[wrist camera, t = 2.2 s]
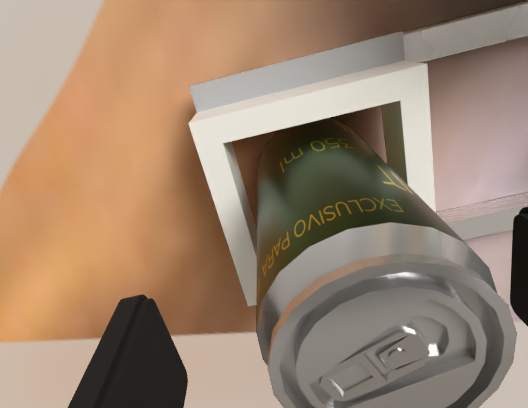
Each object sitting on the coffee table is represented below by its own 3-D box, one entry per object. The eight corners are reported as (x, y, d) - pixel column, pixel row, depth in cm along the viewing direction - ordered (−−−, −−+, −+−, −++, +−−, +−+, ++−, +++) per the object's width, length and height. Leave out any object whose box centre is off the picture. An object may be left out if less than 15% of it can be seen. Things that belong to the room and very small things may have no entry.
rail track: (709, -58, 15) (857, -89, 11) (656, 192, 19) (749, 229, 16) (266, 57, 16) (268, 64, 13) (312, 264, 21) (323, 313, 17)
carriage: (399, 31, 14) (425, 30, 12) (417, 256, 19) (439, 287, 17) (190, 85, 15) (178, 93, 13) (254, 290, 19) (254, 324, 17)
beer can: (298, 235, 20) (346, 479, 9) (235, 158, 18) (200, 347, 7) (386, 178, 19) (567, 382, 8) (327, 89, 17) (457, 190, 6)
